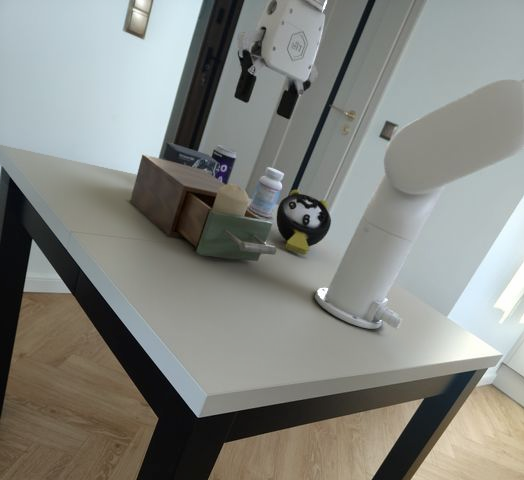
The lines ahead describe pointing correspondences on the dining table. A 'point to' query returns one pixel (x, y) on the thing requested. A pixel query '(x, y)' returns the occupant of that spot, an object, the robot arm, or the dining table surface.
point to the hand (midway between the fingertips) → (262, 108)
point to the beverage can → (224, 162)
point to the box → (190, 158)
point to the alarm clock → (302, 221)
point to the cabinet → (168, 190)
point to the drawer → (222, 230)
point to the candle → (231, 200)
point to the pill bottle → (267, 193)
